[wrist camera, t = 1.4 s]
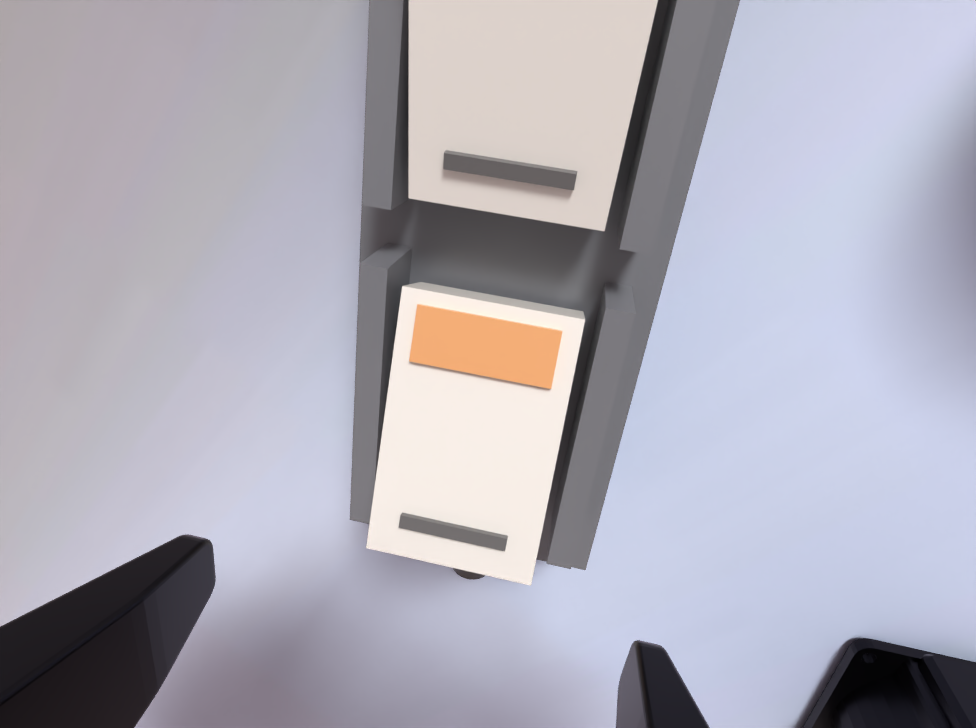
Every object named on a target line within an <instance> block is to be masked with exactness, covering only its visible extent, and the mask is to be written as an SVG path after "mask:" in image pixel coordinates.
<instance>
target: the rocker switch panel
mask: <svg viewBox="0 0 976 728" xmlns="http://www.w3.org/2000/svg"><path fill="white" fill-rule="evenodd" d="M739 2H740V0H658V2H657V7H656V11H655V15H654V20H653V24H652V28H651V33H650V37H649V41H648V45H647V50H646V54H645V58H644V63H643V67H642V71H641V76H640V80H639V84H638V89H637V93H636V97H635V102H634V106H633V110H632V115H631V119H630V123H629V127H628V132H627V136H626V140H625V145H624V149H623V153H622V158H621V162H620V166H619V171H618V175H617V179H616V184H615V188H614V192H613V197H612V201H611V205H610V209H609V214H608V218H607V222H606V227H605V231H599V230H593V229H587V228H582V227H576V226H570V225H564V224H558V223H552V222H546V221H540V220H534V219H528V218H522V217H516V216H510V215H505V214H499V213H493V212H487V211H481V210H475V209H469V208H463V207H457V206H451V205H445V204H439V203H433V202H428V201H422V200H416V199H410V198H409V0H369V27H368V53H367V80H366V106H365V133H364V159H363V186H362V213H361V239H360V265H359V292H358V318H357V345H356V372H355V398H354V425H353V451H352V478H351V504H350V520H354V521H358V522H363V523H367V524H370V517H371V509H372V502H373V495H374V487H375V480H376V473H377V466H378V458H379V451H380V444H381V437H382V429H383V422H384V415H385V408H386V400H387V393H388V386H389V379H390V371H391V364H392V357H393V350H394V342H395V335H396V328H397V321H398V313H399V306H400V299H401V292H402V286H405V285H409V284H414V283H418V282H424V283H430V284H435V285H441V286H446V287H452V288H457V289H463V290H468V291H474V292H479V293H485V294H490V295H496V296H501V297H507V298H512V299H518V300H523V301H529V302H534V303H540V304H545V305H551V306H556V307H562V308H567V309H573V310H578V311H583V312H584V316H585V323H584V328H583V333H582V338H581V343H580V348H579V353H578V358H577V362H576V367H575V372H574V377H573V382H572V387H571V392H570V397H569V402H568V406H567V411H566V416H565V421H564V426H563V431H562V436H561V441H560V446H559V451H558V455H557V460H556V465H555V470H554V475H553V480H552V485H551V490H550V495H549V500H548V504H547V509H546V514H545V519H544V524H543V529H542V534H541V539H540V544H539V549H538V553H537V558H536V559H538V560H542V561H547V564H551V565H555V566H560V567H564V568H568V569H571V567H574V568H578V569H583V570H586V566H587V562H588V559H589V555H590V551H591V548H592V544H593V540H594V537H595V533H596V529H597V526H598V522H599V518H600V514H601V511H602V507H603V503H604V500H605V496H606V492H607V489H608V485H609V481H610V478H611V474H612V470H613V467H614V463H615V459H616V455H617V452H618V448H619V444H620V441H621V437H622V433H623V430H624V426H625V422H626V419H627V415H628V411H629V408H630V404H631V400H632V396H633V393H634V389H635V385H636V382H637V378H638V374H639V371H640V367H641V363H642V360H643V356H644V352H645V349H646V345H647V341H648V337H649V334H650V330H651V326H652V323H653V319H654V315H655V312H656V308H657V304H658V301H659V297H660V293H661V290H662V286H663V282H664V278H665V275H666V271H667V267H668V264H669V260H670V256H671V253H672V249H673V245H674V242H675V238H676V234H677V231H678V227H679V223H680V219H681V216H682V212H683V208H684V205H685V201H686V197H687V194H688V190H689V186H690V183H691V179H692V175H693V171H694V168H695V164H696V160H697V157H698V153H699V149H700V146H701V142H702V138H703V135H704V131H705V127H706V124H707V120H708V116H709V112H710V109H711V105H712V101H713V98H714V94H715V90H716V87H717V83H718V79H719V76H720V72H721V68H722V65H723V61H724V57H725V53H726V50H727V46H728V42H729V39H730V35H731V31H732V28H733V24H734V20H735V17H736V13H737V9H738V6H739ZM453 569H454V571H455V572H456V573H457V574H458V575H460V576H461V577H464V578H467V579H479V578H482V577H484V576H485V575H482V574H478V573H474V572H469V571H465V570H460V569H456V568H453Z"/></svg>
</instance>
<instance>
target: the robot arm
mask: <svg viewBox="0 0 976 728" xmlns="http://www.w3.org/2000/svg"><path fill="white" fill-rule="evenodd" d="M215 578H216V576H215V565H214V554H213V545H212V543H211V541H210V540H208V539H206V538H201V537H197V536H193V535H181V536H179V537H177V538H175V539H173V540H171V541H169V542H167V543H165V544H163V545H161V546H159V547H157V548H155V549H153V550H151V551H149V552H147V553H145V554H143V555H141V556H139V557H137V558H135V559H133V560H131V561H129V562H127V563H125V564H123V565H121V566H119V567H117V568H115V569H113V570H111V571H109V572H107V573H105V574H103V575H102V576H100V577H98V578H96V579H94V580H92V581H90V582H88V583H86V584H84V585H82V586H80V587H78V588H76V589H74V590H72V591H70V592H68V593H66V594H64V595H62V596H60V597H58V598H56V599H54V600H52V601H50V602H48V603H46V604H44V605H42V606H40V607H38V608H36V609H34V610H32V611H30V612H28V613H26V614H24V615H22V616H20V617H18V618H17V619H15V620H13V621H11V622H9V623H7V624H5V625H3V626H1V627H0V728H134V727H135V726H136V724H137V723H138V721H139V720H140V718H141V717H142V715H143V714H144V712H145V711H146V709H147V708H148V706H149V705H150V703H151V702H152V700H153V699H154V697H155V695H156V694H157V692H158V691H159V689H160V687H161V686H162V684H163V682H164V680H165V679H166V677H167V675H168V673H169V672H170V670H171V668H172V666H173V664H174V662H175V660H176V659H177V657H178V655H179V653H180V651H181V649H182V648H183V646H184V644H185V642H186V640H187V638H188V637H189V635H190V633H191V631H192V629H193V627H194V626H195V624H196V622H197V620H198V618H199V616H200V614H201V613H202V611H203V609H204V607H205V605H206V603H207V602H208V600H209V598H210V596H211V594H212V592H213V589H214V586H215ZM866 653H867V654H866ZM616 728H709V726H708V724H707V722H706V721H705V719H704V717H703V715H702V713H701V712H700V710H699V708H698V706H697V705H696V703H695V701H694V699H693V698H692V696H691V694H690V692H689V691H688V689H687V687H686V685H685V683H684V682H683V680H682V678H681V676H680V675H679V673H678V671H677V669H676V668H675V666H674V664H673V662H672V660H671V659H670V657H669V655H668V653H667V652H666V650H665V649H664V648H663V647H662V646H660V645H657V644H653V643H648V642H644V641H640V640H637V641H634V643H633V644H632V645H631V648H630V651H629V654H628V657H627V659H626V662H625V665H624V668H623V671H622V674H621V677H620V681H619V687H618V699H617V719H616ZM803 728H976V662H971V661H967V660H962V659H958V658H953V657H949V656H945V655H940V654H936V653H931V652H927V651H922V650H918V649H913V648H909V647H904V646H900V645H895V644H891V643H886V642H882V641H878V640H873V639H866V638H864V639H858V640H856V641H854V642H853V643H852V644H851V645H850V646H849V648H848V650H847V652H846V653H845V655H844V657H843V659H842V660H841V662H840V664H839V665H838V667H837V669H836V671H835V672H834V674H833V676H832V678H831V679H830V681H829V683H828V685H827V686H826V688H825V690H824V692H823V693H822V695H821V697H820V699H819V700H818V702H817V704H816V706H815V707H814V709H813V711H812V713H811V714H810V716H809V718H808V719H807V721H806V723H805V725H804V726H803Z"/></svg>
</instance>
